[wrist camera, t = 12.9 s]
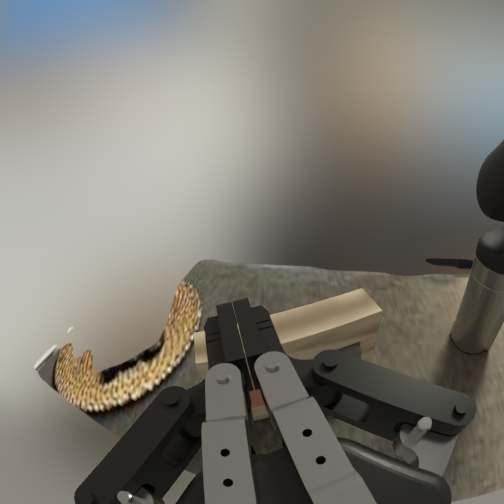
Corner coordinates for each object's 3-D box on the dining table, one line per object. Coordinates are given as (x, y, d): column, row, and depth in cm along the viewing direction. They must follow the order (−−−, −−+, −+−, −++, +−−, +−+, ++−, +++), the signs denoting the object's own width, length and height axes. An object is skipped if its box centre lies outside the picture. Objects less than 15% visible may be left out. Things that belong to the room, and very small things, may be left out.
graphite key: (315, 371, 35) (316, 347, 32) (348, 359, 35) (351, 335, 33) (323, 387, 32) (325, 365, 30) (357, 374, 33) (362, 351, 30)
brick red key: (237, 392, 34) (229, 371, 31) (273, 383, 34) (269, 361, 32) (241, 410, 31) (233, 390, 29) (279, 401, 31) (276, 380, 29)
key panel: (223, 400, 39) (193, 332, 32) (352, 363, 42) (362, 288, 34) (228, 426, 35) (195, 363, 27) (365, 384, 37) (382, 310, 30)
